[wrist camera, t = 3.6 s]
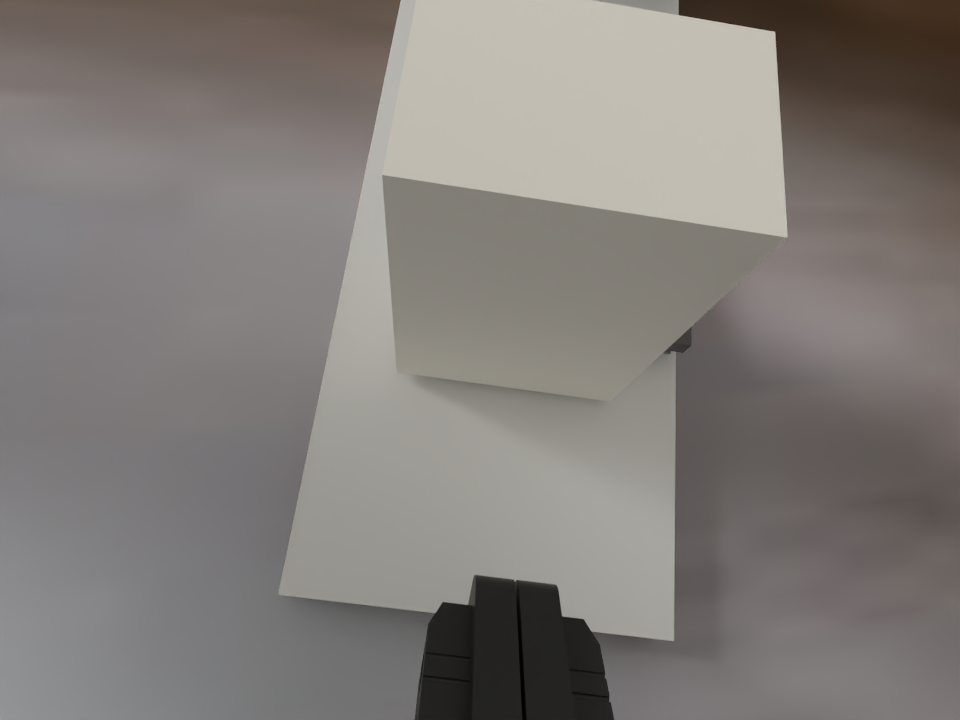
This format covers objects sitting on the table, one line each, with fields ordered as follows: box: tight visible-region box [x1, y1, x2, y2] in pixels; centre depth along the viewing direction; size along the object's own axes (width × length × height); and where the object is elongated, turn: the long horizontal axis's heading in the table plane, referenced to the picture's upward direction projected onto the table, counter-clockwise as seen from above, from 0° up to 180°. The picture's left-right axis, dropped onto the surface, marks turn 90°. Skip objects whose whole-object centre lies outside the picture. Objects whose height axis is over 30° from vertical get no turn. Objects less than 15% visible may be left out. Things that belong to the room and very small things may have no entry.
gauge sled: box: [382, 0, 788, 402], centre depth 14 cm, size 8×5×9 cm, turn 84°
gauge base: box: [278, 0, 679, 641], centre depth 17 cm, size 10×28×12 cm, turn 174°
